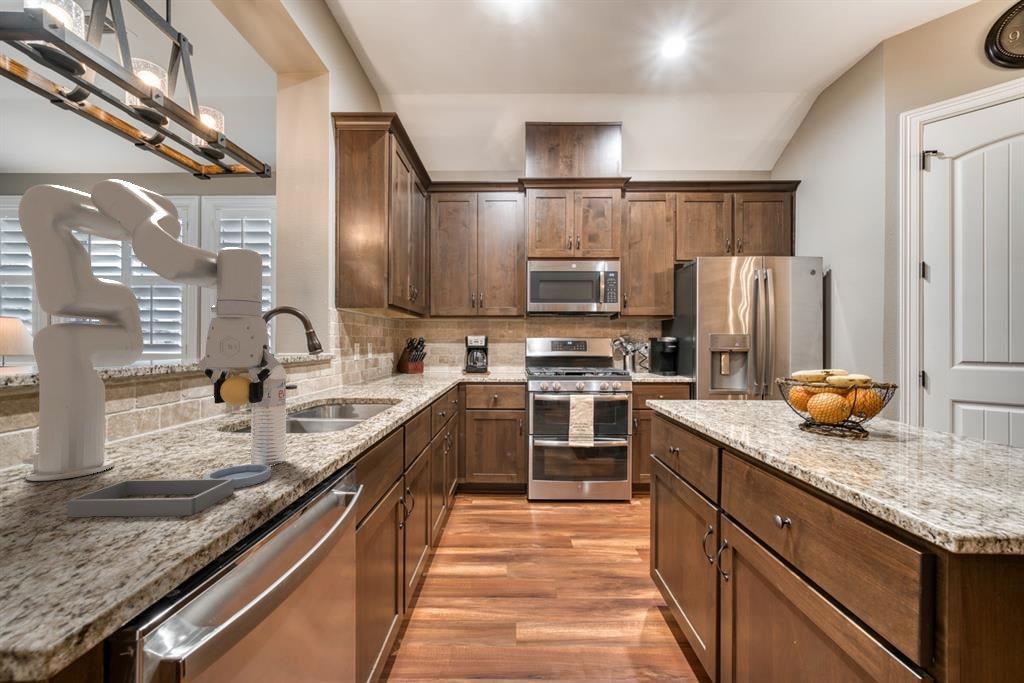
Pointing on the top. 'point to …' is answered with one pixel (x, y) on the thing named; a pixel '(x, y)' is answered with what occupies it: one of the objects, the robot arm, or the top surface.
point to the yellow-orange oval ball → (236, 390)
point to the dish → (243, 474)
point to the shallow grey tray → (110, 505)
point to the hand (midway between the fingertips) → (238, 401)
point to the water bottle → (270, 421)
